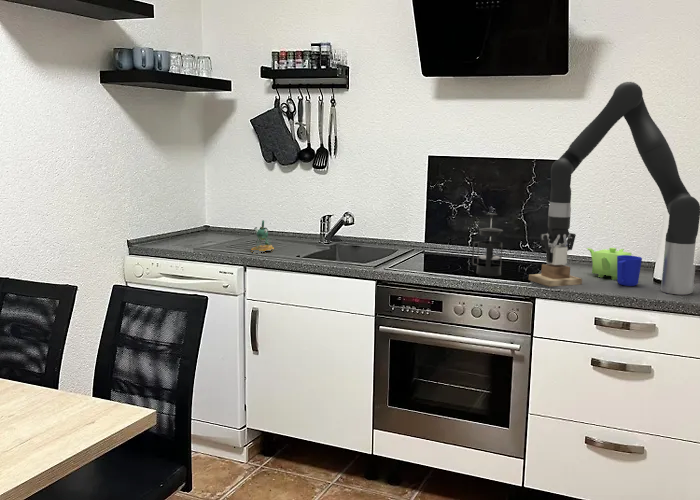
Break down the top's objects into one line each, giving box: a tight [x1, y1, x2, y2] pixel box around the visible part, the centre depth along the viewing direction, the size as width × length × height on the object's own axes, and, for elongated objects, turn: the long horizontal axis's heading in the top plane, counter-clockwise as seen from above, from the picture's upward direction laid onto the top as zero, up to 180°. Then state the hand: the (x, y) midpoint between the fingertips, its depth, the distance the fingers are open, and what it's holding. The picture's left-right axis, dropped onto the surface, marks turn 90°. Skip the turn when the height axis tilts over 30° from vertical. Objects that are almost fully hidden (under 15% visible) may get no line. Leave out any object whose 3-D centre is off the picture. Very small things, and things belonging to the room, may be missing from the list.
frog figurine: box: [250, 220, 275, 251], centre depth 304 cm, size 10×18×15 cm, turn 157°
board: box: [528, 273, 583, 288], centre depth 250 cm, size 14×12×2 cm
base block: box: [540, 263, 571, 279], centre depth 250 cm, size 7×7×4 cm
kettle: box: [586, 247, 632, 281], centre depth 261 cm, size 15×14×11 cm
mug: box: [616, 255, 643, 287], centre depth 246 cm, size 8×12×10 cm
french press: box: [471, 212, 504, 277], centre depth 263 cm, size 12×9×23 cm
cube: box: [545, 245, 568, 265], centre depth 249 cm, size 5×5×6 cm
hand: (556, 262), depth 249 cm, fingers closed on cube, 5 cm apart
